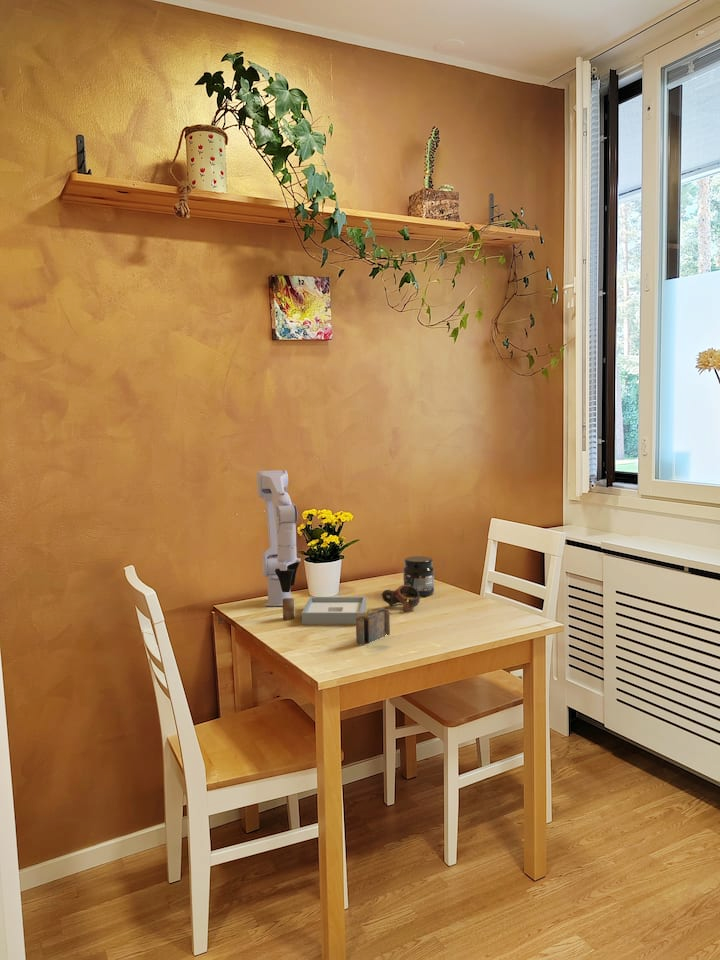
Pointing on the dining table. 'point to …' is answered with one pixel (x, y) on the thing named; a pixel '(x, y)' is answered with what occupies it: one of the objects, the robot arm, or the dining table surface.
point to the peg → (288, 608)
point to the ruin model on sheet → (372, 625)
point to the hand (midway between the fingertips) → (288, 588)
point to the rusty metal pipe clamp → (401, 597)
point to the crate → (333, 610)
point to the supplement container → (419, 575)
